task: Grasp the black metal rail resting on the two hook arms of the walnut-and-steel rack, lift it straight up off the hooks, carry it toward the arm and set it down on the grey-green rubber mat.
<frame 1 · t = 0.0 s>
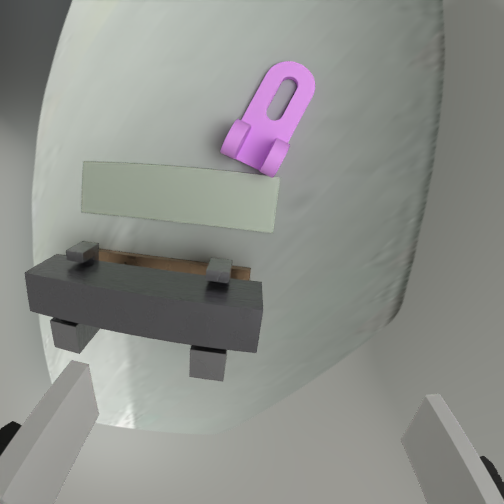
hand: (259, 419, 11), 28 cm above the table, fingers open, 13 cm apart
bracket: (273, 114, 34), on the table
rail: (148, 286, 31), point 8 cm above the table, touching hook rack
hook rack: (167, 284, 39), on the table
mat: (172, 193, 36), on the table
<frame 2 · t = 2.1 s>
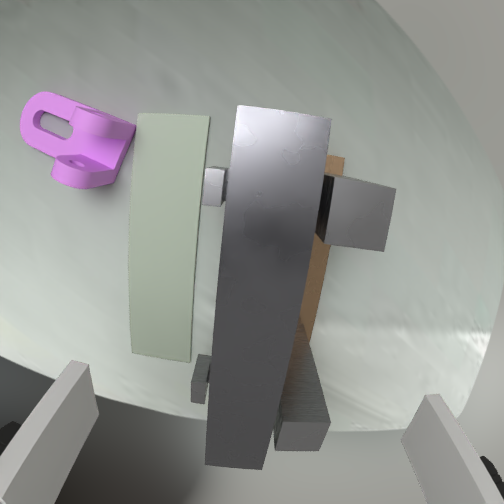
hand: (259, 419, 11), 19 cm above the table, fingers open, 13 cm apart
bracket: (73, 131, 26), on the table
rail: (252, 295, 21), point 8 cm above the table, touching hook rack
hook rack: (285, 262, 29), on the table
mat: (162, 247, 29), on the table
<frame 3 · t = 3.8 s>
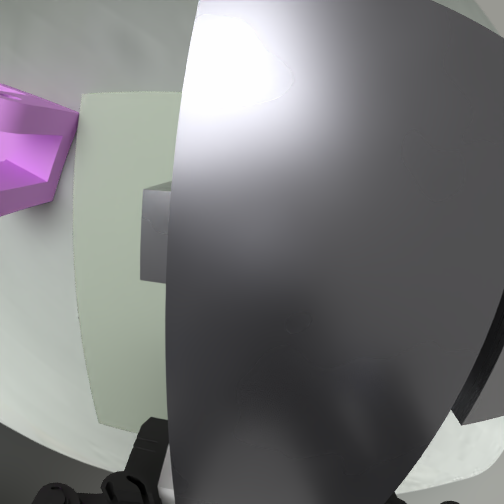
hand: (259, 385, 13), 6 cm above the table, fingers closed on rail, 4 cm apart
bracket: (5, 127, 16), on the table
rail: (259, 414, 11), point 8 cm above the table, touching gripper, hook rack
hook rack: (308, 322, 19), on the table
mat: (122, 298, 19), on the table
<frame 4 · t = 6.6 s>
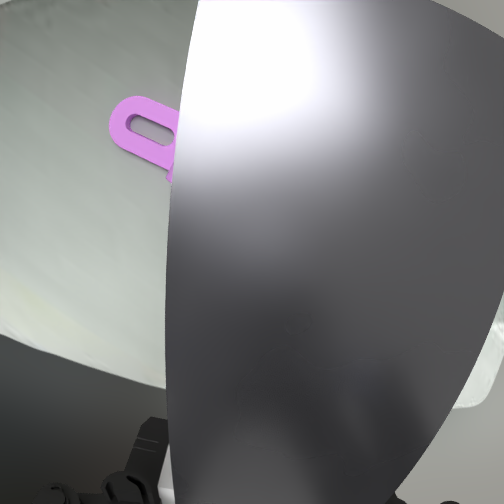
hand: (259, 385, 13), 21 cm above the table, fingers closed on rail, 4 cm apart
bracket: (169, 137, 30), on the table
rail: (259, 414, 11), point 23 cm above the table, touching gripper
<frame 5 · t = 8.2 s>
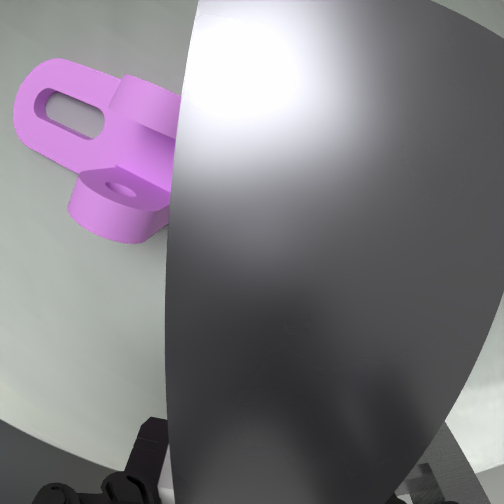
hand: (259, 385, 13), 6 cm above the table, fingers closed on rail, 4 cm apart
bracket: (102, 125, 16), on the table
rail: (259, 414, 11), point 8 cm above the table, touching gripper
hook rack: (424, 327, 19), on the table
when the fingers open (1 cm above the table, at t = 9.4 s): rail drops 3 cm, resting on mat.
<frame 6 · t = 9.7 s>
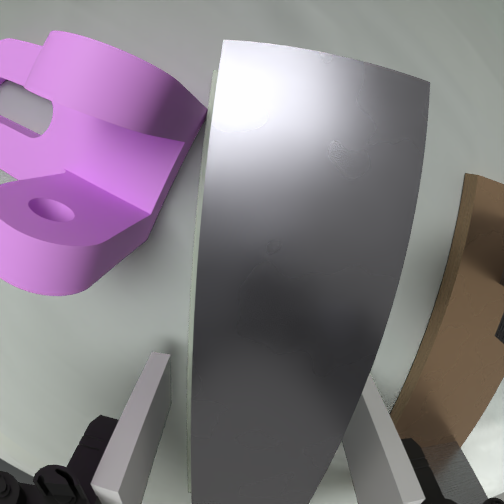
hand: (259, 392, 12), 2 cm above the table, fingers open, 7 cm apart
bracket: (56, 118, 11), on the table
rail: (256, 370, 14), resting on mat
hook rack: (458, 368, 14), on the table
mat: (259, 365, 14), on the table
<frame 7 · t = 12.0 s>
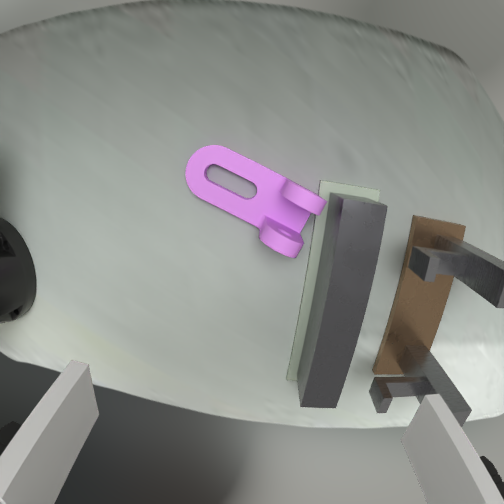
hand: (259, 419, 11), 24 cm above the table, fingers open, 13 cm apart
bracket: (248, 189, 33), on the table
rail: (331, 295, 34), resting on mat
hook rack: (418, 301, 35), on the table
mat: (331, 294, 35), on the table
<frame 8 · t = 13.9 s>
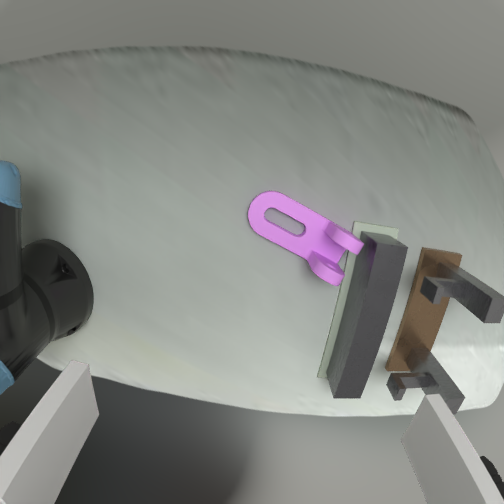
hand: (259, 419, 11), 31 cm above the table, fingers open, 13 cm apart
bracket: (297, 227, 40), on the table
rail: (357, 310, 43), resting on mat
hook rack: (423, 313, 43), on the table
mat: (357, 308, 43), on the table
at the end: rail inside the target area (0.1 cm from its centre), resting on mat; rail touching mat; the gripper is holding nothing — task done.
